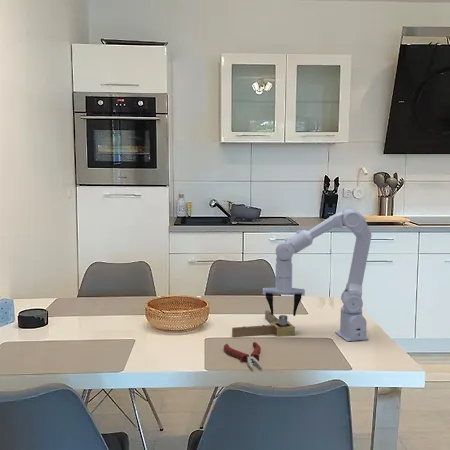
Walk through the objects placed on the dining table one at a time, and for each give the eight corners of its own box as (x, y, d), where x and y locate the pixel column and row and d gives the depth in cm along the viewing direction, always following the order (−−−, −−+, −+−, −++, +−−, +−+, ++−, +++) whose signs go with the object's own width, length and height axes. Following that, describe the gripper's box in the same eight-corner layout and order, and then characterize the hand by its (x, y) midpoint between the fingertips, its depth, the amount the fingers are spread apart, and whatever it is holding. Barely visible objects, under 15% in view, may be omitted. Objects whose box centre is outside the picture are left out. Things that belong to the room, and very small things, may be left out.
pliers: (237, 374, 154) (237, 365, 154) (222, 350, 174) (222, 342, 173) (276, 371, 157) (276, 363, 156) (256, 348, 176) (257, 340, 176)
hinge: (294, 335, 188) (294, 326, 187) (234, 339, 183) (234, 330, 182) (274, 317, 208) (274, 309, 208) (220, 321, 203) (220, 312, 203)
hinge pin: (288, 334, 189) (288, 317, 188) (279, 334, 188) (280, 317, 188) (285, 331, 192) (286, 314, 191) (277, 331, 191) (277, 315, 191)
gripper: (304, 274, 191) (303, 312, 192) (263, 273, 192) (262, 310, 194) (305, 279, 184) (304, 318, 185) (262, 278, 185) (262, 316, 187)
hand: (283, 314), depth 189 cm, fingers open, 7 cm apart
